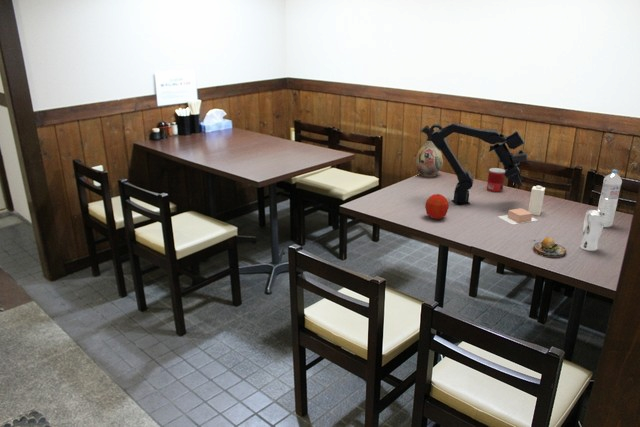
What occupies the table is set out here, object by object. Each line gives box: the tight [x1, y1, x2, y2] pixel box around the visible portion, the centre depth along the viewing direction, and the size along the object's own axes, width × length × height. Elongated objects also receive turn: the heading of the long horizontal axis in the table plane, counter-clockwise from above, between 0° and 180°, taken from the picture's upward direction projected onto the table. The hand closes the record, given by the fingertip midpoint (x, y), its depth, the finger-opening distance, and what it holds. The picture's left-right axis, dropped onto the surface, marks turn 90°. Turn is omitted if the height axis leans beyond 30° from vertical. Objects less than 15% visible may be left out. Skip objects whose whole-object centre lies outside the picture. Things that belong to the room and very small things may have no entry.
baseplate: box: [497, 214, 538, 225], centre depth 229 cm, size 14×10×1 cm
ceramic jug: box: [414, 123, 444, 178], centre depth 289 cm, size 17×15×30 cm
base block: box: [507, 207, 533, 224], centre depth 227 cm, size 7×7×4 cm
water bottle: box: [597, 169, 623, 229], centre depth 220 cm, size 7×7×25 cm
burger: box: [532, 237, 567, 259], centre depth 199 cm, size 12×12×8 cm
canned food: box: [486, 167, 506, 193], centre depth 267 cm, size 8×8×11 cm
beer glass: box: [579, 209, 606, 252], centre depth 200 cm, size 7×7×15 cm
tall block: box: [527, 185, 546, 216], centre depth 233 cm, size 5×5×14 cm
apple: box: [424, 193, 450, 220], centre depth 231 cm, size 10×10×12 cm
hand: (521, 182), depth 239 cm, fingers open, 9 cm apart
